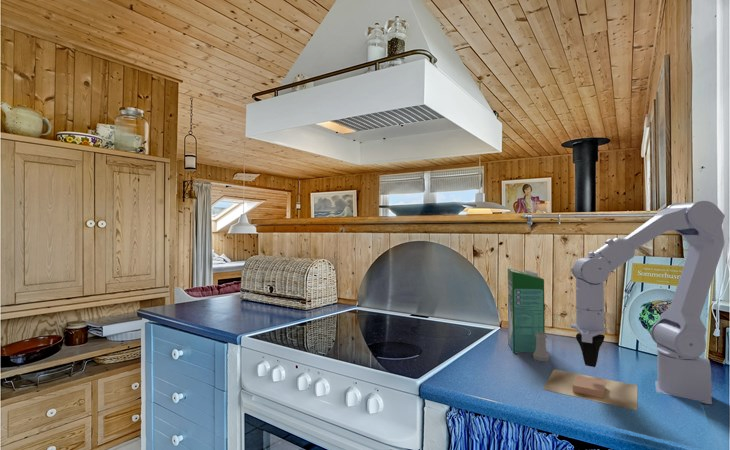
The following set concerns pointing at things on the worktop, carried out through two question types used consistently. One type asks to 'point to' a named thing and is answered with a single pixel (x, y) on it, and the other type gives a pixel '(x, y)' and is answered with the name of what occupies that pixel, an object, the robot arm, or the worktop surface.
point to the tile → (589, 386)
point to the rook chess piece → (541, 347)
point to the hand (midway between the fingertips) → (590, 365)
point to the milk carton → (525, 309)
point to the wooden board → (613, 395)
